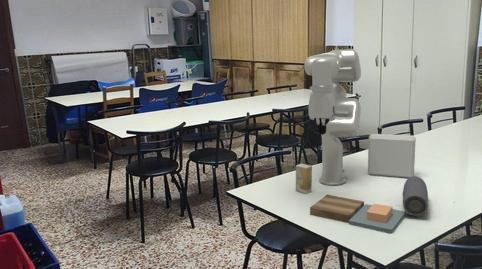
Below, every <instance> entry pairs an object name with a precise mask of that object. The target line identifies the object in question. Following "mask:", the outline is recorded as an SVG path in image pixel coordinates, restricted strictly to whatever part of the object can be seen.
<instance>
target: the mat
mask: <svg viewBox="0 0 482 269" xmlns="http://www.w3.org/2000/svg"><path fill="white" fill-rule="evenodd" d="M372 205H373V204H367V203H366V204H365V203H364V206H363V207H362V208H361V209H360V210H359V211H358V212H357V213H356V214H355V215H354V216H353V217H352V218H351V219H350V220H349V223H348V225H351V226H356V227H359V228H364V229H369V230H374V231H378V232H382V233H387V234H393V233H394V231H395V230H396V229H397V227H398V226H399V225H400V223H401V222H402V221H403V220H404V219H405V217H406V215H407V212H406V211H405V210H400V209H396V208H395V209H393V208H392V215H391V216H390V218H389V219H388V221H387V222H386V223H383V222H378V221H372V220H367V211H368V210H369V209H370V207H371V206H372Z"/></svg>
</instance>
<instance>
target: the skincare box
mask: <svg viewBox="0 0 482 269" xmlns="http://www.w3.org/2000/svg"><path fill="white" fill-rule="evenodd" d="M312 171H313V166H312V165H309V164H305V163H299V164H296V165H295V192H298V193H302V194H305V195H307V194H308V193H309V194H310V193H311V192H312V189H313V186H312V184H313V176H312V175H313V172H312Z"/></svg>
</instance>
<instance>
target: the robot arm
mask: <svg viewBox="0 0 482 269" xmlns="http://www.w3.org/2000/svg"><path fill="white" fill-rule="evenodd" d="M303 65H304V71H305V73H306V75H308V76H312V79H311V80H312V85H311V86H309V90H311V92H310V94H309V99H308V100H309V101H308V117H309V120H312V121H314V122H315V124H316V125H317V132H318V135H321V153H322V154H321V156H322V157H321V158H322V159H321V160H322V161H321V167H322V169H321V172H322V173H321V174H322V176H320V177H319V178H318V182H319V183H320V184H322V185H326V186H341V185H344V184H346V182H347V178H345V177H344V176H343V174H344V172H345V170H344V162H343V160H344V159H343V158H344V156H343V155H344V154H343V153H344V152H343V151H344V146H343V143H342V141H341V140H340V138H355V137H357V136H358V134H359V131H360V130H359V129H360V121H361V113H362V112H361V111H362V110H361V108H362V106H361V102H360V101H359V99H357V98H354V97H353V98H351V97H350V98H348V97H347V90H346V89H345V88H344V87H343V86H342V84H340V83H339V82H341V83H343V82H344V83H347V82H350V83H351V82H357V81H359V80H360V79H361V76H362V69H361V62H360V57H359V54H358V52H357V51H356V50H355V49H348V48H347V49H346V48H345V49H333V50H331V51H329V52H325V53H321V54H319V53H318V54H314V55H310V56H308V57H307V58H306V60H305V61H304V64H303Z"/></svg>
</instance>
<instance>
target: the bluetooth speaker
mask: <svg viewBox="0 0 482 269" xmlns="http://www.w3.org/2000/svg"><path fill="white" fill-rule="evenodd" d="M402 190H403V191H402V205H403V209H404V211H405V212H406V214H408V215H410V216H415V217H420V216H422V215H424V214H425V213H426V212H427V210H428V206H429V192H428V187H427V184H426V182H425V181H424V179H423V178H422V177H421V176H415V175H414V176H413V177H410V178H406V180H405V182H404V185H403V188H402Z"/></svg>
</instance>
